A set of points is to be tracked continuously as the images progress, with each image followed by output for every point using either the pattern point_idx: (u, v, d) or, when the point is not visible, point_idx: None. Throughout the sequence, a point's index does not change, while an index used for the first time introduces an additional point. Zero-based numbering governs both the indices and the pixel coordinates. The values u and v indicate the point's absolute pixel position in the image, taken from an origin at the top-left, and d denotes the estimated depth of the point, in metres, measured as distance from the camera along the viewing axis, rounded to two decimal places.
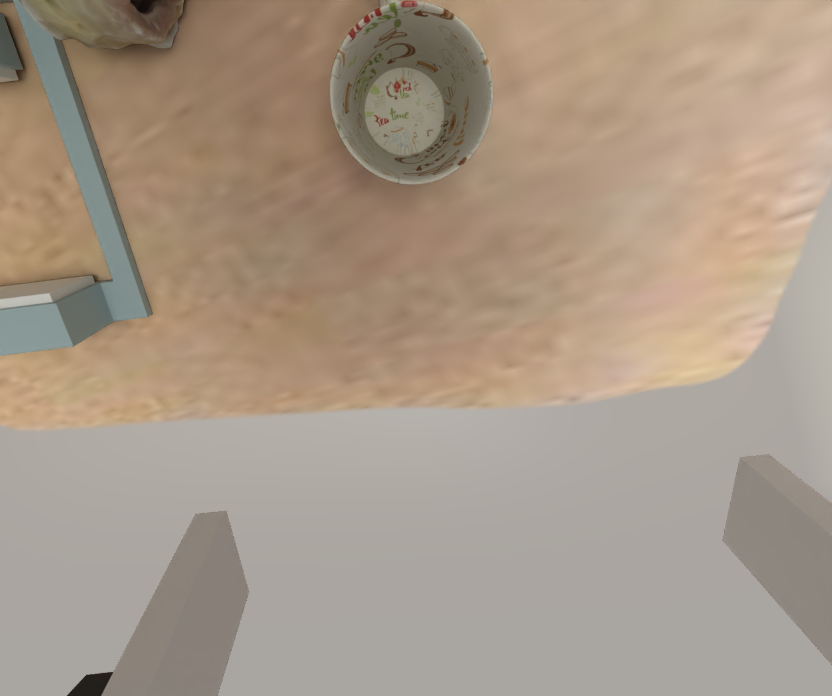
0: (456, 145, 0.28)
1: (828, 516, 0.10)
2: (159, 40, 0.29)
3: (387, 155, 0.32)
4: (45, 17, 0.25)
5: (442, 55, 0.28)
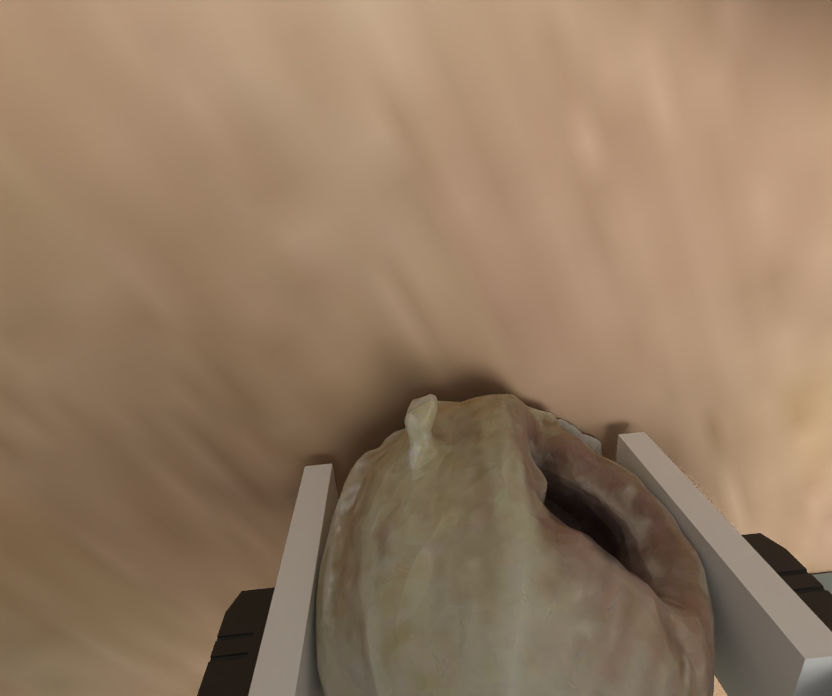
0: None
1: (674, 482, 0.12)
2: (644, 485, 0.12)
3: None
4: None
5: None
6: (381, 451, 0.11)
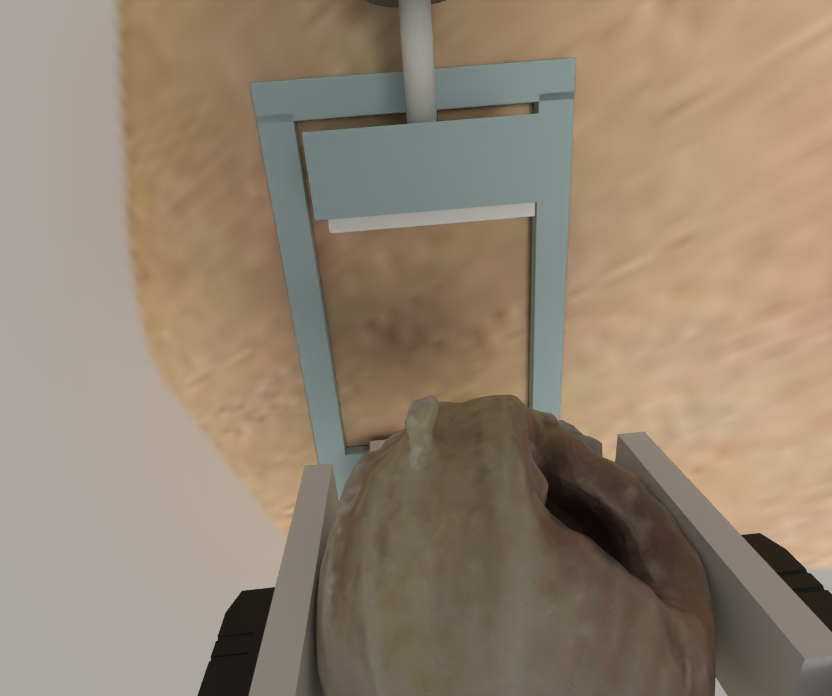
0: None
1: (674, 482, 0.12)
2: (645, 487, 0.12)
3: None
4: None
5: None
6: (382, 452, 0.11)
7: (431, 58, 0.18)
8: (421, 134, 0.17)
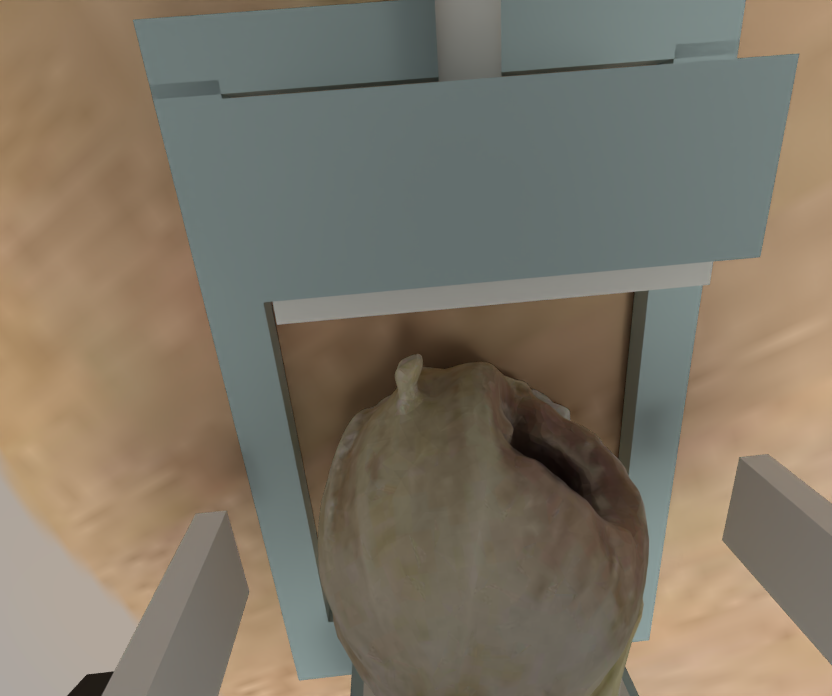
0: None
1: (827, 516, 0.10)
2: (602, 443, 0.14)
3: None
4: None
5: None
6: (375, 408, 0.13)
7: None
8: (483, 107, 0.07)
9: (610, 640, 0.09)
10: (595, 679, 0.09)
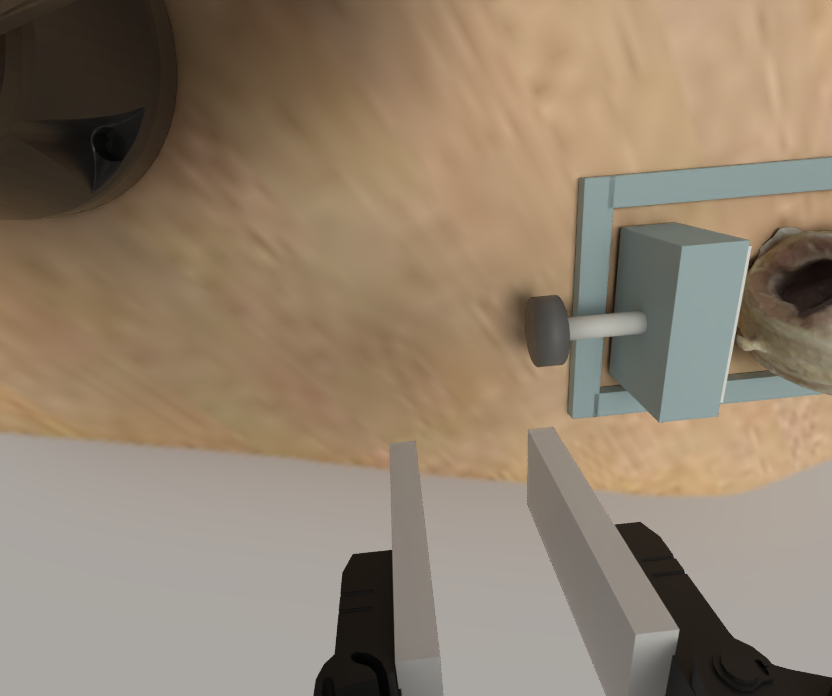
0: None
1: (567, 474, 0.12)
2: (811, 233, 0.25)
3: None
4: None
5: None
6: None
7: (602, 319, 0.25)
8: (677, 345, 0.23)
9: None
10: None
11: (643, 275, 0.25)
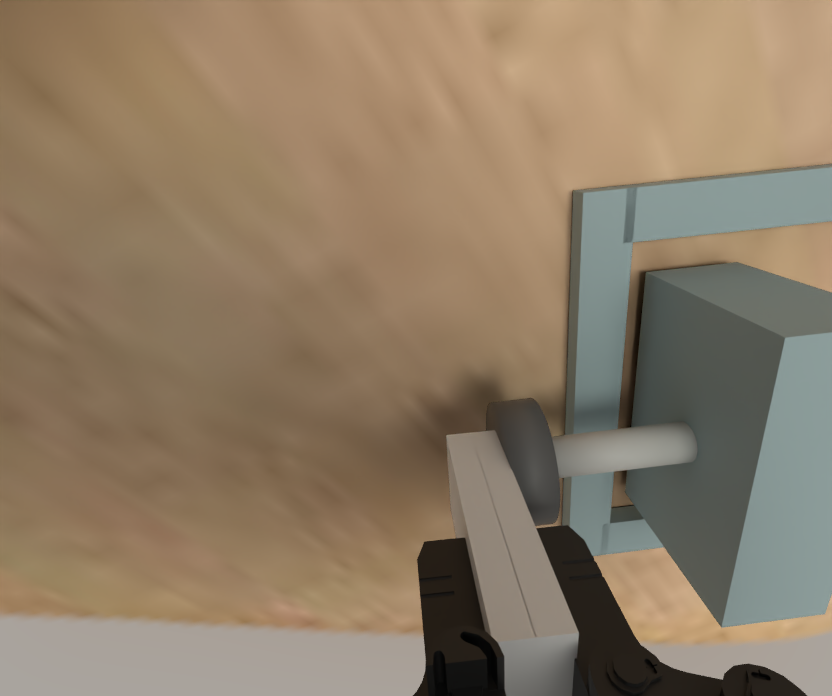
0: None
1: (499, 478, 0.12)
2: None
3: None
4: None
5: None
6: None
7: (617, 444, 0.14)
8: (762, 510, 0.12)
9: None
10: None
11: (689, 365, 0.14)
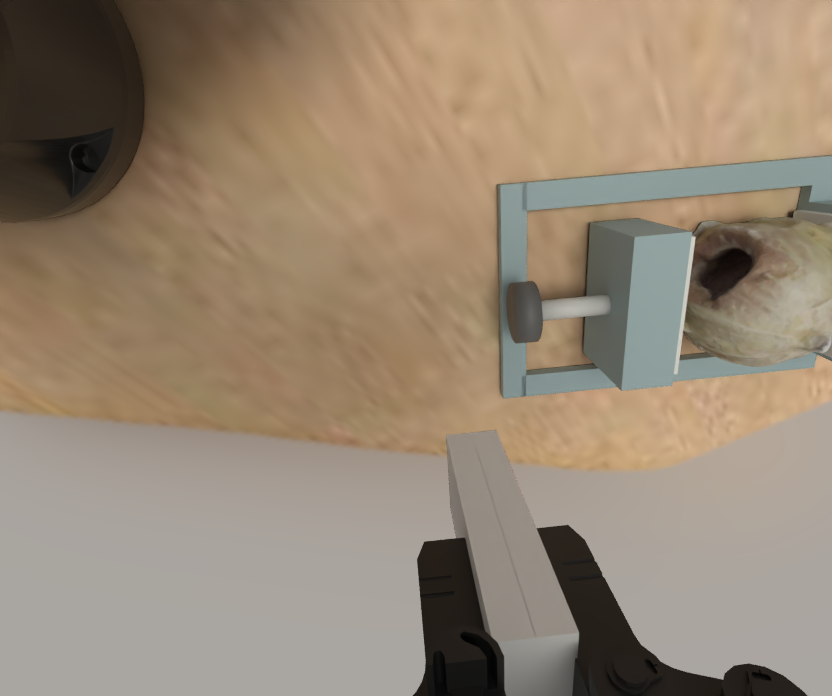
0: None
1: (499, 477, 0.12)
2: (722, 226, 0.29)
3: None
4: None
5: None
6: None
7: (571, 302, 0.28)
8: (634, 322, 0.27)
9: (800, 279, 0.24)
10: (817, 283, 0.24)
11: (607, 263, 0.28)
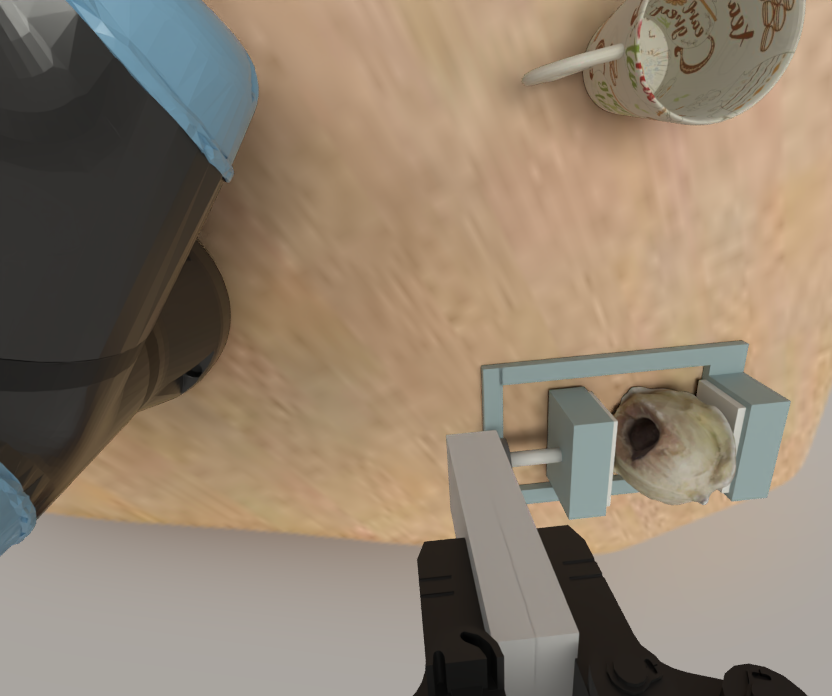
0: None
1: (500, 477, 0.12)
2: (642, 400, 0.40)
3: (682, 82, 0.31)
4: (720, 424, 0.37)
5: None
6: None
7: (534, 455, 0.39)
8: (576, 477, 0.38)
9: (686, 457, 0.36)
10: (698, 459, 0.36)
11: (559, 427, 0.39)
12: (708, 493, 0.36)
